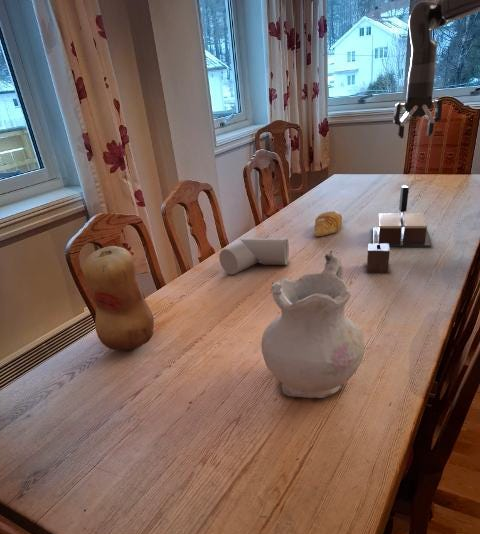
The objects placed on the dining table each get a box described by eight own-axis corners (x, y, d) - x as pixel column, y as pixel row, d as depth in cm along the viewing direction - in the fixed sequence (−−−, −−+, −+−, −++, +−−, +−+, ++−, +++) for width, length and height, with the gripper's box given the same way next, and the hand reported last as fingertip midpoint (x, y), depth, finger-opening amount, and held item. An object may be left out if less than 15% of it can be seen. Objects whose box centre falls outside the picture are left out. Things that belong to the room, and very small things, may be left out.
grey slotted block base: (424, 229, 156) (427, 211, 153) (430, 247, 141) (433, 227, 138) (373, 229, 161) (374, 211, 157) (373, 247, 146) (374, 227, 143)
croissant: (323, 248, 158) (332, 231, 153) (301, 233, 160) (309, 215, 155) (344, 229, 173) (354, 212, 167) (324, 215, 175) (333, 199, 169)
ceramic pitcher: (286, 347, 100) (273, 247, 89) (372, 353, 93) (370, 244, 81) (255, 408, 83) (234, 294, 72) (358, 422, 76) (353, 296, 64)
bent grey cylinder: (257, 247, 152) (215, 266, 141) (260, 219, 146) (217, 237, 134) (296, 267, 143) (255, 290, 131) (301, 239, 136) (258, 260, 125)
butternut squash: (93, 362, 100) (61, 263, 88) (115, 331, 112) (89, 240, 99) (149, 362, 98) (125, 261, 86) (166, 331, 110) (146, 238, 97)
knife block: (387, 264, 133) (389, 243, 129) (387, 273, 128) (389, 250, 124) (366, 264, 134) (368, 243, 131) (366, 272, 129) (368, 250, 126)
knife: (401, 234, 152) (406, 185, 143) (403, 237, 149) (408, 187, 141) (396, 234, 152) (401, 186, 144) (398, 237, 150) (403, 187, 141)
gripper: (400, 83, 130) (395, 140, 138) (449, 78, 128) (441, 136, 136) (394, 82, 136) (389, 137, 144) (441, 77, 135) (434, 133, 143)
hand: (414, 136), depth 140 cm, fingers open, 8 cm apart
